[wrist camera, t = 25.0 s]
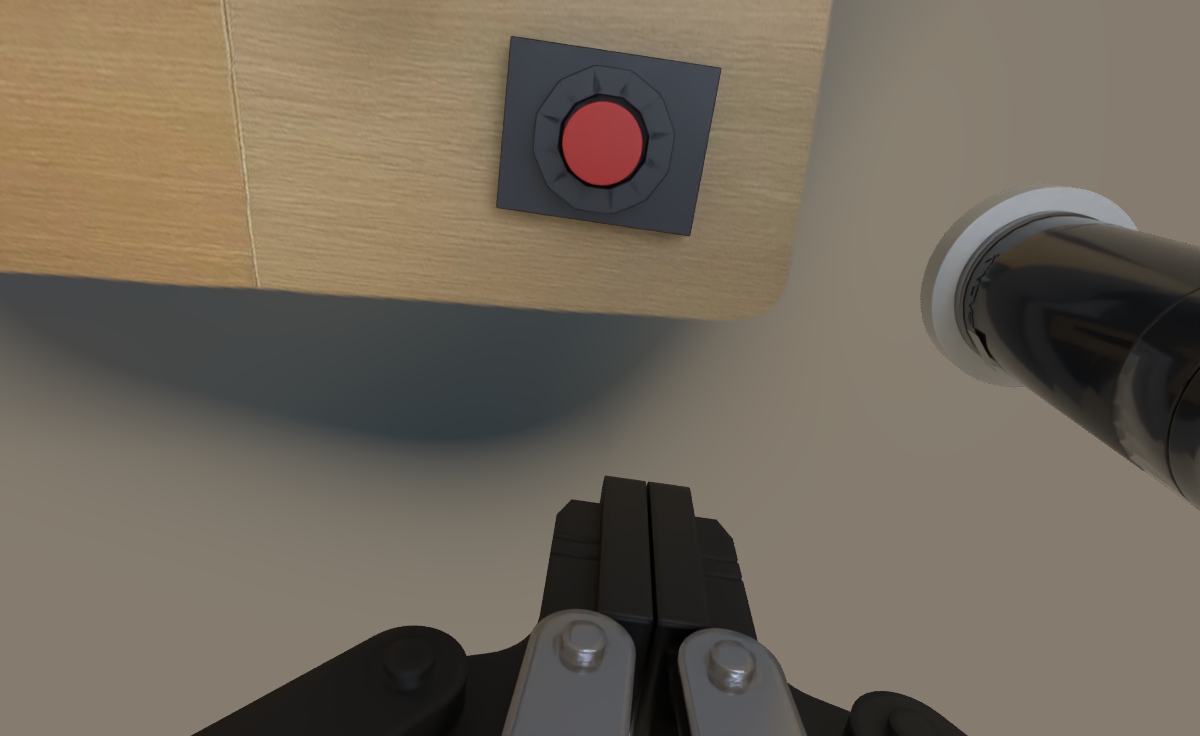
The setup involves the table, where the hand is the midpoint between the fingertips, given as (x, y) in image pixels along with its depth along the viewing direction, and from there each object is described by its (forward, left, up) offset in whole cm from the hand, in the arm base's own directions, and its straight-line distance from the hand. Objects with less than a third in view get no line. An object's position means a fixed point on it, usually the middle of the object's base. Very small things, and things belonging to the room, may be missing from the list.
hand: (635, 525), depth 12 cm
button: (+2, -5, -24) cm, 24 cm away
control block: (+2, -5, -27) cm, 28 cm away
